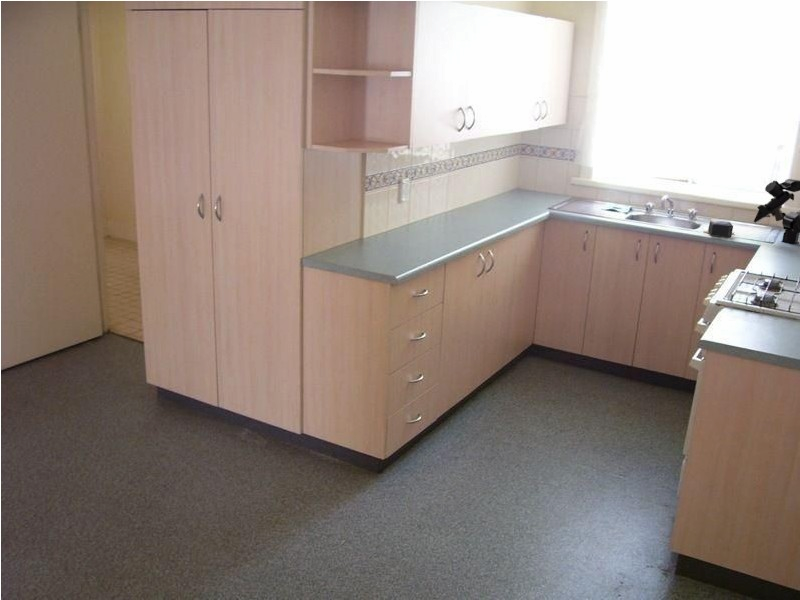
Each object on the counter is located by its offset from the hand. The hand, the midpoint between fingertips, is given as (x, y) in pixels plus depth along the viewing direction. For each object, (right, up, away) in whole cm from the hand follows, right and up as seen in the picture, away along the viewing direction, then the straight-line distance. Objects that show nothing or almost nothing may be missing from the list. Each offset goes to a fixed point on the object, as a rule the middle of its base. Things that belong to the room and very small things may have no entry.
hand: (754, 221), depth 413 cm
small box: (-10, -3, +6) cm, 12 cm away
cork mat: (-13, -5, +14) cm, 20 cm away
